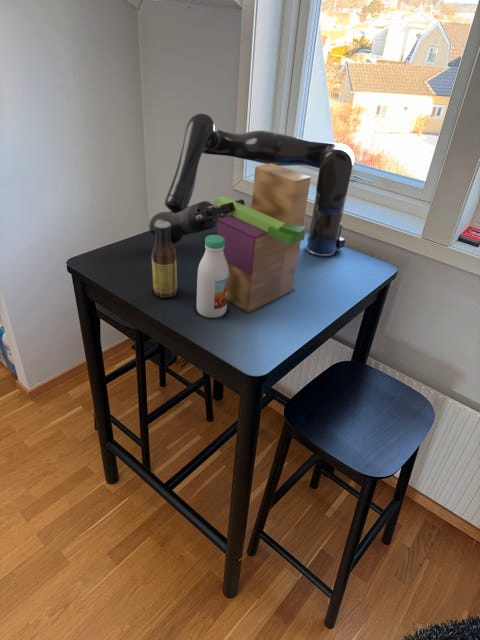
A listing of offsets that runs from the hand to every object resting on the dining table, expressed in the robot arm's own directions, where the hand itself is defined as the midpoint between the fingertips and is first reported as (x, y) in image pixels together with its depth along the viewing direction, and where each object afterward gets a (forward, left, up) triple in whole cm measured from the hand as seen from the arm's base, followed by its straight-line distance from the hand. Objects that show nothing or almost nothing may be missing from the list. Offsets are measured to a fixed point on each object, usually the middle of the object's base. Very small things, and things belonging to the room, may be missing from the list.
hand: (238, 204), depth 117 cm
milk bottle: (+11, +7, -24) cm, 28 cm away
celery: (-1, +6, -3) cm, 7 cm away
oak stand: (-4, +5, -24) cm, 25 cm away
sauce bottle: (+18, -5, -24) cm, 30 cm away
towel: (-1, +5, -13) cm, 14 cm away
